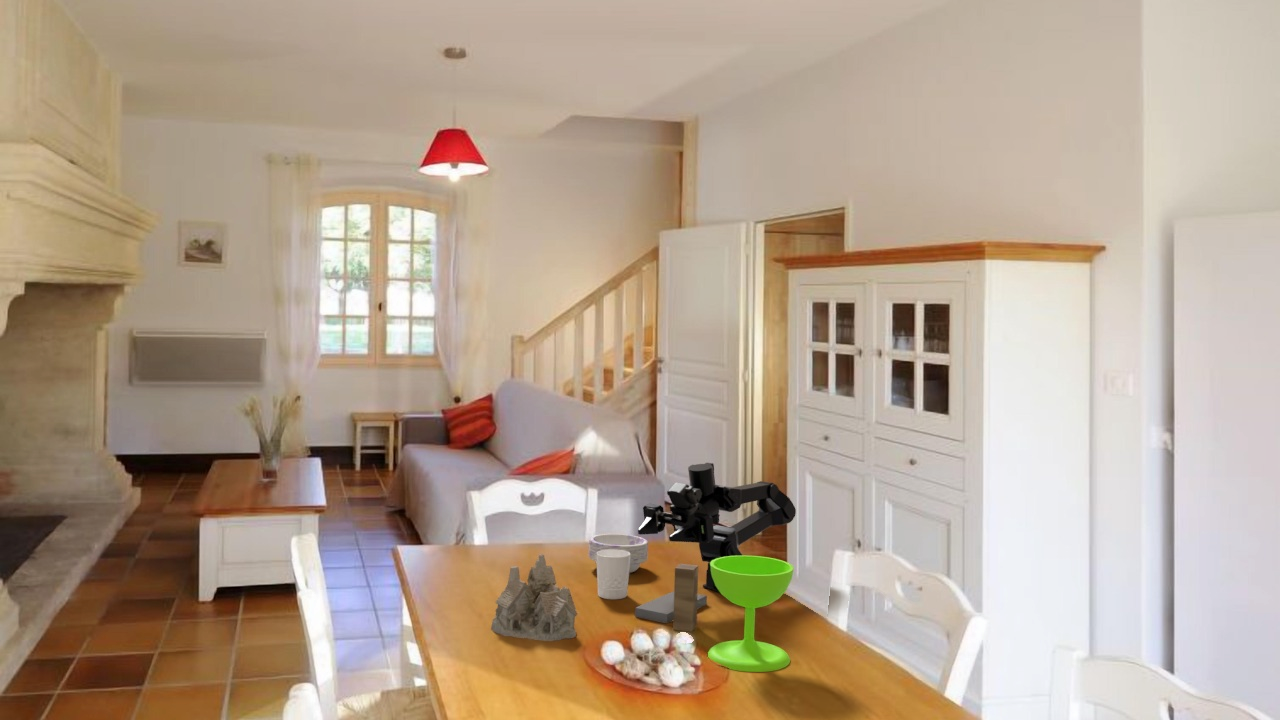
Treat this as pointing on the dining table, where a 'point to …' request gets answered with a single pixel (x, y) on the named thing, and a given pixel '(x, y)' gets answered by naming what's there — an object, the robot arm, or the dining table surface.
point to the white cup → (613, 573)
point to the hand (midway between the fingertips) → (654, 535)
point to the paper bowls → (620, 547)
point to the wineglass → (750, 608)
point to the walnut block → (685, 597)
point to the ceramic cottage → (535, 606)
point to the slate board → (663, 608)
